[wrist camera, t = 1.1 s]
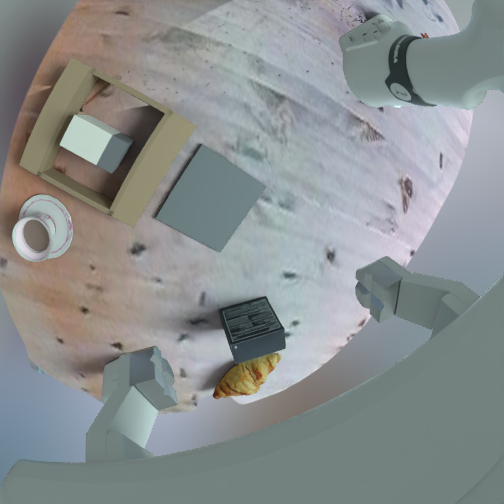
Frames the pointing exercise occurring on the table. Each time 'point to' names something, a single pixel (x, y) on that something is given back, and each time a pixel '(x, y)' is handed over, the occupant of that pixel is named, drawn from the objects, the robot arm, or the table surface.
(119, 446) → the robot arm
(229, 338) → the small box
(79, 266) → the table surface
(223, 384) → the croissant
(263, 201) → the table surface
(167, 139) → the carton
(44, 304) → the table surface
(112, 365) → the photo printer
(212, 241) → the slate mat
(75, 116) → the box
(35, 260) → the teacup
